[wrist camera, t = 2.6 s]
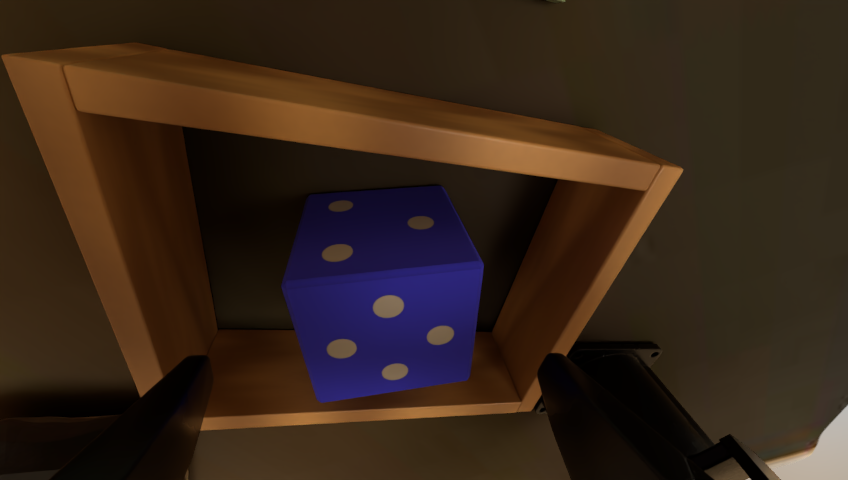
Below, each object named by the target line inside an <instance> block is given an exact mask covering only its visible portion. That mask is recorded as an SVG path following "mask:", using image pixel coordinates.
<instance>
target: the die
mask: <svg viewBox="0 0 848 480" xmlns="http://www.w3.org/2000/svg"><path fill="white" fill-rule="evenodd" d="M483 270H484V264H483V262H482V260H481V258H480V256H479V254H478V252H477V250H476V248H475V246H474V244H473V242H472V241H471V239H470V237H469V235H468V233H467V231H466V229H465V227H464V225H463V223H462V221H461V219H460V217H459V216H458V214H457V212H456V210H455V208H454V206H453V204H452V202H451V200H450V198H449V196H448V194H447V193H446V191H445V189H444V188H443V187H442V186H441V185H440V186H425V187H411V188H397V189H383V190H368V191H354V192H340V193H326V194H311V195H309V196H308V197H307V199H306V202H305V205H304V209H303V212H302V216H301V219H300V222H299V226H298V229H297V233H296V236H295V240H294V243H293V247H292V250H291V254H290V257H289V260H288V264H287V267H286V271H285V274H284V278H283V281H282V285H281V288H282V291H283V294H284V297H285V300H286V304H287V307H288V310H289V313H290V316H291V319H292V323H293V326H294V329H295V332H296V335H297V338H298V342H299V345H300V348H301V351H302V354H303V358H304V361H305V364H306V367H307V370H308V373H309V377H310V380H311V383H312V386H313V389H314V392H315V396H316V399H317V400H318V401H319V402H320V403H325V402H331V401H338V400H344V399H351V398H357V397H363V396H370V395H376V394H383V393H389V392H396V391H402V390H409V389H415V388H422V387H428V386H434V385H441V384H447V383H454V382H460V381H467V380H468V378H469V377H470V373H471V365H472V357H473V349H474V341H475V333H476V325H477V317H478V309H479V301H480V294H481V286H482V278H483Z"/></svg>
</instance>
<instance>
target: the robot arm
mask: <svg viewBox="0 0 848 480" xmlns="http://www.w3.org/2000/svg"><path fill="white" fill-rule="evenodd" d="M661 354H662V350H661V349H660V348H659V347H658V346H657V344H576V345H573V346H572V347H571V349H570V351H569V352H568V354H567V355H566V356H565V355H563V354H561V353H548V354H547V355H546V356H545V358H544V360H543V361H542V363H541V365H540V367H539V368H538V371H537V378H538V382H539V385H540V389H541V392H542V395H541V396H540V398H539V400H538V401H537V403H536V404H535V406H534V409H535V411H536V413H537V414H548V417H549V421H550V424H551V427H552V431H553V433H554V436H555V439H556V442H557V444H558V447H559V449H560V452H561V455H562V457H563V460H564V462H565V465H566V468H567V470H568V473H569V476H570V478H571V480H745V479H748V478H751V480H781V479H779V477H778V476H777V475H776V474H775V473H774V472H773V471H772V470H771V469H770V468H769V467H768V466H767V465H766V464H765V462H764V461H763V460H762V459H761V458H760V457H759V456H758V455H757V454H756V453H755V452H754V451H752V450H751V449H750V448H748V447H747V446H746V445H744V444H743V443H742V442H740V441H739V440H738V439H736V438H735V437H734V436H732V435H731V434H729V435H727V436H725V437H723V438H721V439H719V440H720V442H719V443H717V444H714V443H713V442H712V441H711V440H710V439H709V437H708V436H707V435H706V434H705V433H704V431H703V430H702V429H701V428H700V427H699V426H698V424H697V423H696V422H695V421H694V420H693V418H692V417H691V416H690V415H689V414H688V413H687V411H686V410H685V409H684V408H683V407H682V405H681V404H680V403H679V402H678V401H677V400H676V398H675V397H674V396H673V395H672V394H671V392H670V391H669V390H668V389H667V388H666V387H665V385H664V384H663V383H662V382H661V381H660V379H659V378H658V377H657V376H656V375H655V374H654V372H653V371H652V370H651V369H650V367H651V366H652V364H653V363H654V362H655V361H656V360H657V358H658V357H659V356H660V355H661ZM213 381H214V377H213V372H212V367H211V362H210V358H209V357H208V356H207V355H190V356H187V357H186V358H184V359H183V360H182V361H181V362H180V363H179V364H178V365H176V366H175V367H174V368H173V369H172V370H171V371H170V372H169V373H167V374H166V375H165V376H164V377H163V378H162V379H161V380H160V381H159V382H157V383H156V384H155V385H154V386H153V387H152V388H151V389H150V390H148V391H147V392H146V393H145V394H144V395H143V396H142V397H141V398H139V399H138V400H137V401H136V402H135V403H134V404H133V405H132V406H130V407H129V408H128V409H127V410H126V411H125V412H124V413H123V414H122V415H120V416H119V417H118V418H117V419H116V420H115V421H114V422H113V423H111V424H110V425H109V426H108V427H107V428H106V429H105V430H104V431H102V432H101V433H100V434H99V435H98V436H97V437H96V438H95V439H93V440H92V441H91V442H90V443H89V444H88V445H87V446H86V447H85V448H83V449H82V450H81V451H80V452H79V453H78V454H77V455H76V456H74V457H73V458H72V459H71V460H70V461H69V462H68V463H67V464H65V465H64V466H63V467H62V468H61V469H60V470H59V471H58V472H56V473H55V474H54V475H53V476H52V477H51V478H50V479H49V480H184V477H185V475H186V472H187V470H188V467H189V465H190V462H191V459H192V457H193V454H194V450H195V447H196V444H197V440H198V437H199V433H200V429H201V426H202V422H203V419H204V415H205V412H206V408H207V405H208V401H209V398H210V394H211V390H212V387H213Z"/></svg>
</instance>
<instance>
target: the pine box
mask: <svg viewBox="0 0 848 480" xmlns="http://www.w3.org/2000/svg"><path fill="white" fill-rule="evenodd" d="M2 60H3V62H4V65H5V67H6V70H7V72H8V74H9V77H10V79H11V82H12V84H13V87H14V89H15V92H16V94H17V96H18V99H19V101H20V104H21V106H22V109H23V111H24V114H25V116H26V118H27V121H28V123H29V126H30V128H31V131H32V133H33V136H34V138H35V140H36V143H37V145H38V148H39V150H40V153H41V155H42V158H43V160H44V162H45V165H46V167H47V170H48V172H49V175H50V177H51V180H52V182H53V184H54V187H55V189H56V192H57V194H58V197H59V199H60V202H61V204H62V206H63V209H64V211H65V214H66V216H67V219H68V221H69V224H70V226H71V228H72V231H73V233H74V236H75V238H76V241H77V243H78V246H79V248H80V250H81V253H82V255H83V258H84V260H85V263H86V265H87V268H88V270H89V272H90V275H91V277H92V280H93V282H94V285H95V287H96V290H97V292H98V294H99V297H100V299H101V302H102V304H103V307H104V309H105V312H106V314H107V316H108V319H109V321H110V324H111V326H112V329H113V331H114V334H115V336H116V338H117V341H118V343H119V346H120V348H121V351H122V353H123V356H124V358H125V360H126V363H127V365H128V368H129V370H130V373H131V375H132V378H133V380H134V382H135V385H136V387H137V390H138V392H139V395H140V397H142V396H143V395H144V394H145V393H146V392H147V391H148V390H150V389H151V388H152V387H153V386H154V385H155V384H156V383H157V382H159V381H160V380H161V379H162V378H163V377H164V376H165V375H166V374H167V373H169V372H170V371H171V370H172V369H173V368H174V367H175V366H176V365H178V364H179V363H180V362H181V361H182V360H183V359H184V358H186V357H187V356H190V355H207V356H208V357H209V358H210V362H211V367H212V372H213V377H214V381H213V387H212V390H211V394H210V398H209V401H208V405H207V408H206V412H205V415H204V419H203V422H202V426H201V429H200V431H202V430H220V429H237V428H255V427H272V426H290V425H307V424H325V423H342V422H360V421H377V420H395V419H412V418H430V417H447V416H465V415H482V414H499V413H515V412H527V411H531V410H532V409H533V407H534V406H535V404H536V403H537V401H538V400H539V398H540V396H541V395H542V392H541V389H540V385H539V382H538V378H537V371H538V368H539V367H540V365H541V363H542V361H543V360H544V358H545V356H546V355H547V354H548V353H561V354H563V355H565V356H566V355H567V354H568V352H569V351H570V349H571V347H572V346H573V344H574V343H575V341H576V339H577V338H578V336H579V335H580V333H581V332H582V330H583V328H584V327H585V325H586V324H587V322H588V321H589V319H590V317H591V316H592V314H593V313H594V311H595V309H596V308H597V306H598V305H599V303H600V302H601V300H602V298H603V297H604V295H605V294H606V292H607V290H608V289H609V287H610V286H611V284H612V283H613V281H614V279H615V278H616V276H617V275H618V273H619V272H620V270H621V268H622V267H623V265H624V264H625V262H626V260H627V259H628V257H629V256H630V254H631V253H632V251H633V249H634V248H635V246H636V245H637V243H638V242H639V240H640V238H641V237H642V235H643V234H644V232H645V230H646V229H647V227H648V226H649V224H650V223H651V221H652V219H653V218H654V216H655V215H656V213H657V211H658V210H659V208H660V207H661V205H662V204H663V202H664V200H665V199H666V197H667V196H668V194H669V193H670V191H671V189H672V188H673V186H674V185H675V183H676V181H677V180H678V178H679V177H680V175H681V174H682V172H683V169H682V168H681V167H679V166H677V165H675V164H672V163H670V162H668V161H666V160H664V159H661V158H659V157H657V156H655V155H652V154H650V153H648V152H646V151H643V150H641V149H639V148H637V147H635V146H632V145H630V144H628V143H626V142H623V141H621V140H619V139H617V138H614V137H612V136H610V135H608V134H606V133H603V132H601V131H599V130H595V129H590V128H585V127H582V128H581V127H579V126H574V125H569V124H564V123H558V122H553V121H548V120H543V119H537V118H532V117H527V116H521V115H516V114H511V113H505V112H500V111H495V110H490V109H484V108H479V107H474V106H468V105H463V104H458V103H453V102H447V101H442V100H437V99H431V98H426V97H421V96H415V95H410V94H405V93H400V92H394V91H389V90H384V89H378V88H373V87H368V86H362V85H357V84H352V83H347V82H341V81H336V80H331V79H325V78H320V77H315V76H309V75H304V74H299V73H294V72H288V71H283V70H278V69H272V68H267V67H262V66H257V65H251V64H246V63H241V62H235V61H230V60H225V59H219V58H214V57H209V56H204V55H198V54H193V53H188V52H182V51H177V50H172V49H171V50H168V49H166V48H162V47H157V46H152V45H146V44H141V43H136V42H135V43H123V44H112V45H101V46H90V47H79V48H68V49H57V50H46V51H35V52H24V53H13V54H4V55H2ZM182 126H185V127H192V128H199V129H206V130H213V131H220V132H227V133H234V134H242V135H249V136H256V137H263V138H270V139H277V140H284V141H291V142H299V143H306V144H313V145H320V146H327V147H334V148H341V149H348V150H355V151H363V152H370V153H377V154H384V155H391V156H398V157H405V158H412V159H420V160H427V161H434V162H441V163H448V164H455V165H462V166H469V167H477V168H484V169H491V170H498V171H505V172H512V173H519V174H526V175H533V176H541V177H548V178H555V179H558V181H557V183H556V185H555V187H554V190H553V192H552V194H551V197H550V199H549V201H548V204H547V206H546V208H545V211H544V213H543V215H542V217H541V220H540V222H539V224H538V227H537V229H536V231H535V234H534V236H533V238H532V241H531V243H530V245H529V247H528V250H527V252H526V254H525V257H524V259H523V261H522V264H521V266H520V268H519V270H518V273H517V275H516V277H515V280H514V282H513V284H512V287H511V289H510V291H509V294H508V296H507V298H506V300H505V303H504V305H503V307H502V310H501V312H500V314H499V317H498V319H497V321H496V324H495V326H494V328H493V330H492V333H491V332H476V333H475V341H474V349H473V357H472V365H471V373H470V377H469V378H468V380H467V381H460V382H454V383H447V384H441V385H434V386H428V387H422V388H415V389H409V390H402V391H396V392H389V393H383V394H376V395H370V396H363V397H357V398H351V399H344V400H338V401H331V402H325V403H320V402H319V401H318V400H317V399H316V396H315V392H314V389H313V386H312V383H311V380H310V377H309V373H308V370H307V367H306V364H305V361H304V358H303V354H302V351H301V348H300V345H299V342H298V338H297V335H296V332H295V330H233V329H219V330H218V328H217V323H216V317H215V311H214V306H213V300H212V294H211V289H210V283H209V277H208V272H207V266H206V260H205V255H204V249H203V243H202V238H201V232H200V226H199V221H198V215H197V209H196V204H195V198H194V192H193V187H192V181H191V175H190V170H189V164H188V158H187V153H186V147H185V141H184V136H183V130H182Z"/></svg>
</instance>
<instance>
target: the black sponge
mask: <svg viewBox="0 0 848 480" xmlns="http://www.w3.org/2000/svg"><path fill="white" fill-rule="evenodd" d="M121 415H122V414H121ZM119 416H120V415H110V416H96V417H77V418H67V417H52V416H47V417H11V418H6V419H2V420H0V480H49V479H50V478H51V477H52V476H53V475H54V474H55V473H56V472H58V471H59V470H60V469H61V468H62V467H63V466H64V465H65V464H67V463H68V462H69V461H70V460H71V459H72V458H73V457H74V456H76V455H77V454H78V453H79V452H80V451H81V450H82V449H83V448H85V447H86V446H87V445H88V444H89V443H90V442H91V441H92V440H93V439H95V438H96V437H97V436H98V435H99V434H100V433H101V432H102V431H104V430H105V429H106V428H107V427H108V426H109V425H110V424H111V423H113V422H114V421H115V420H116V419H117V418H118V417H119ZM188 470H189V469H188ZM188 470H187V472H186V475H185V477H184V480H188V475H189V472H188Z"/></svg>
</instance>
